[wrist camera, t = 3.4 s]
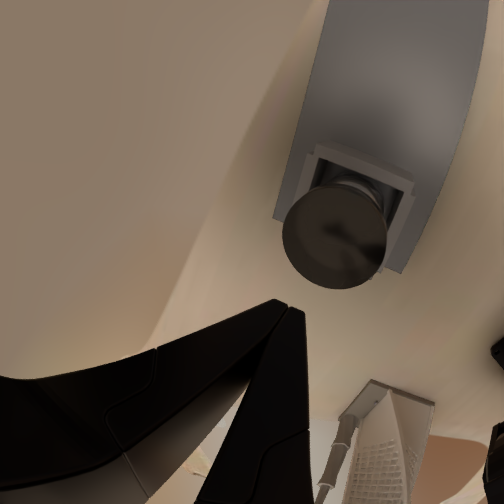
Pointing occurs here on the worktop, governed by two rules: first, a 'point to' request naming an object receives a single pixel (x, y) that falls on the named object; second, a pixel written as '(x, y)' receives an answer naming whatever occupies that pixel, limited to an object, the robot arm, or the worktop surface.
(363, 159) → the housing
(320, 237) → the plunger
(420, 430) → the skyscraper
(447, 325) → the worktop surface
